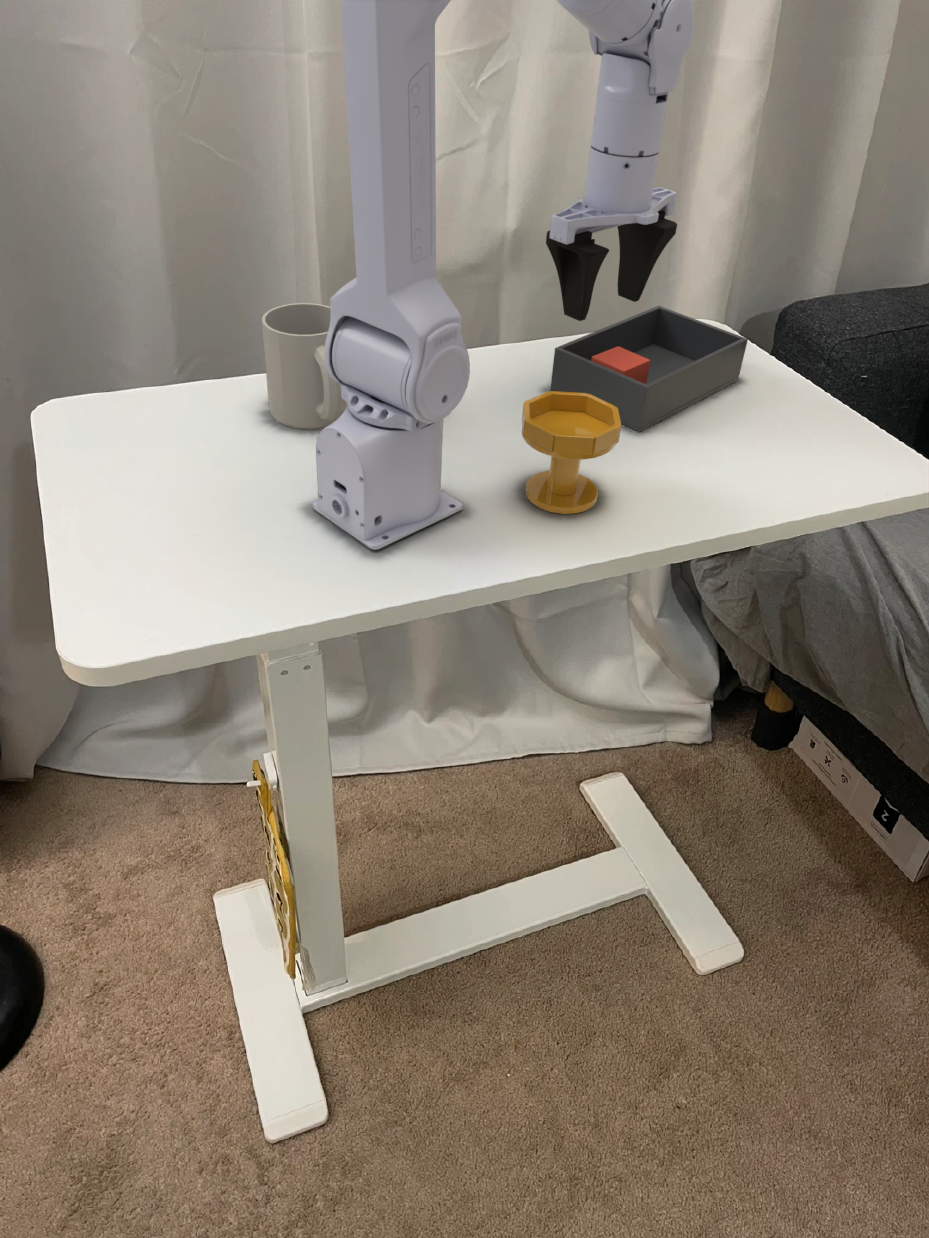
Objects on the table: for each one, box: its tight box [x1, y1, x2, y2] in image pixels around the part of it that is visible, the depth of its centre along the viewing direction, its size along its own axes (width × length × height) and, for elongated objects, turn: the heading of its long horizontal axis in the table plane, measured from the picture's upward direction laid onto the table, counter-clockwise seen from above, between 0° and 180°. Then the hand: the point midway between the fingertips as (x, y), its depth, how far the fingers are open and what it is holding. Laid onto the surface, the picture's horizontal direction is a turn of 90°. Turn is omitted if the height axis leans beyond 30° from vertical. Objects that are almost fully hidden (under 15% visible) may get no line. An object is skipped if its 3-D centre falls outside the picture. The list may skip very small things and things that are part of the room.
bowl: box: [521, 390, 622, 515], centre depth 81 cm, size 8×8×8 cm
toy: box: [591, 346, 650, 384], centre depth 96 cm, size 4×4×4 cm
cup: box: [261, 302, 348, 430], centre depth 89 cm, size 7×10×9 cm
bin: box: [549, 305, 749, 433], centre depth 99 cm, size 17×11×4 cm, turn 136°
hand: (602, 307), depth 92 cm, fingers open, 7 cm apart
